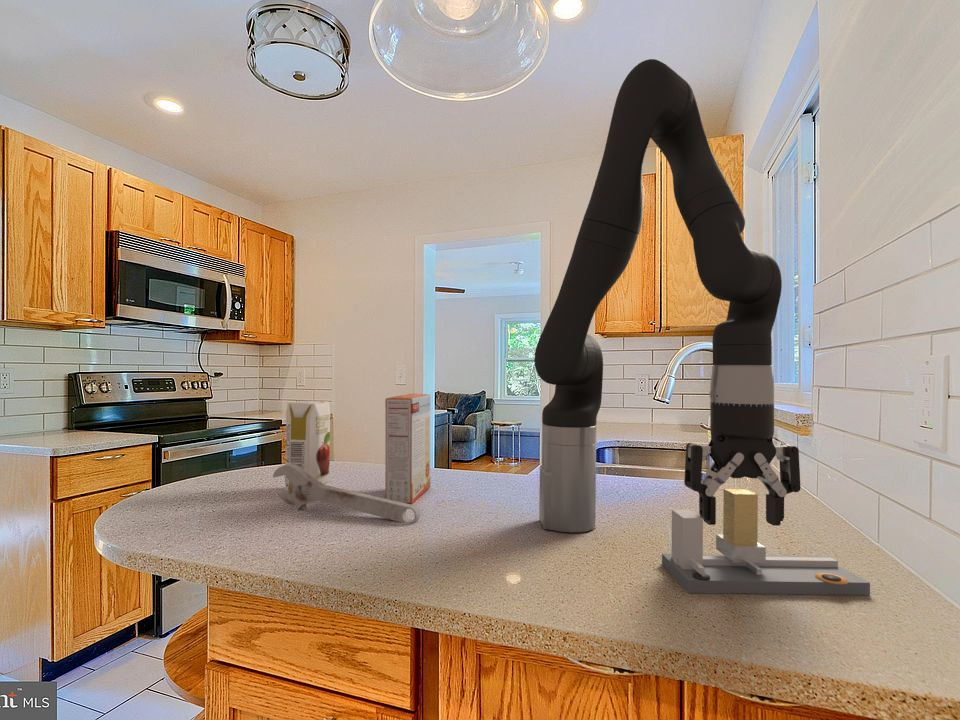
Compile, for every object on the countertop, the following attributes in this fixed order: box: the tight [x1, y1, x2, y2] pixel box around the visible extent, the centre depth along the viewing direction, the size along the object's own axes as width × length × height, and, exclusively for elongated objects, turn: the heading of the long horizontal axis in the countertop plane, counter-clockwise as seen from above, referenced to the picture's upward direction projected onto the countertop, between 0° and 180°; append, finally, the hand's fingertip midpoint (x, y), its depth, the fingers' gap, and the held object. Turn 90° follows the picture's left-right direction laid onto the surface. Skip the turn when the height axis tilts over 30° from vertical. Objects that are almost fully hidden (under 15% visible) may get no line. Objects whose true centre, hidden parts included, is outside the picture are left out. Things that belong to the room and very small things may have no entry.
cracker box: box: [384, 393, 431, 505], centre depth 108 cm, size 14×6×21 cm, turn 170°
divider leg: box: [715, 488, 767, 575], centre depth 67 cm, size 4×7×9 cm, turn 0°
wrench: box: [272, 464, 421, 524], centre depth 94 cm, size 8×2×30 cm
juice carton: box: [284, 400, 331, 491], centre depth 111 cm, size 8×9×19 cm
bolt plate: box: [661, 509, 871, 596], centre depth 67 cm, size 22×10×8 cm, turn 90°
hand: (741, 523), depth 68 cm, fingers open, 8 cm apart
